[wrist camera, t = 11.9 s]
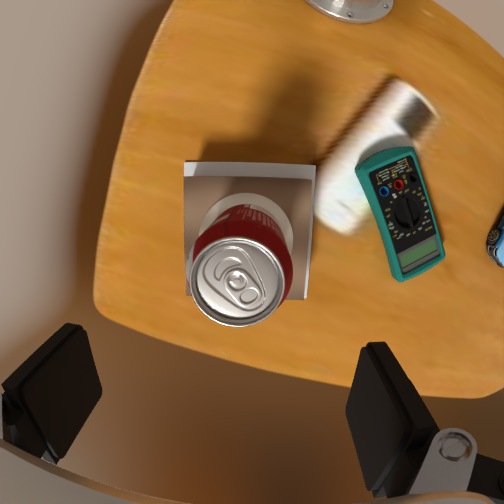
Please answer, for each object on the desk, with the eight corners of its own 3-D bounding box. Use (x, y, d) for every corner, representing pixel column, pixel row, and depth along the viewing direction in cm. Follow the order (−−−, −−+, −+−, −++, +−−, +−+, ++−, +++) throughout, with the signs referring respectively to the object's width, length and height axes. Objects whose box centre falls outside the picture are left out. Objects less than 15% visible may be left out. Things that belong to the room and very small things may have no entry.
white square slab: (184, 162, 31) (184, 162, 31) (315, 165, 31) (315, 165, 31) (186, 292, 35) (186, 293, 35) (306, 297, 35) (306, 298, 35)
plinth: (192, 175, 31) (183, 176, 27) (305, 178, 31) (312, 179, 27) (194, 282, 35) (186, 296, 30) (299, 285, 34) (303, 300, 30)
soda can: (253, 188, 28) (247, 200, 16) (296, 245, 29) (318, 295, 17) (197, 232, 29) (155, 272, 17) (240, 285, 30) (228, 353, 18)
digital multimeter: (402, 141, 30) (413, 140, 27) (437, 254, 34) (449, 260, 31) (349, 163, 31) (357, 163, 28) (391, 278, 35) (400, 287, 32)
